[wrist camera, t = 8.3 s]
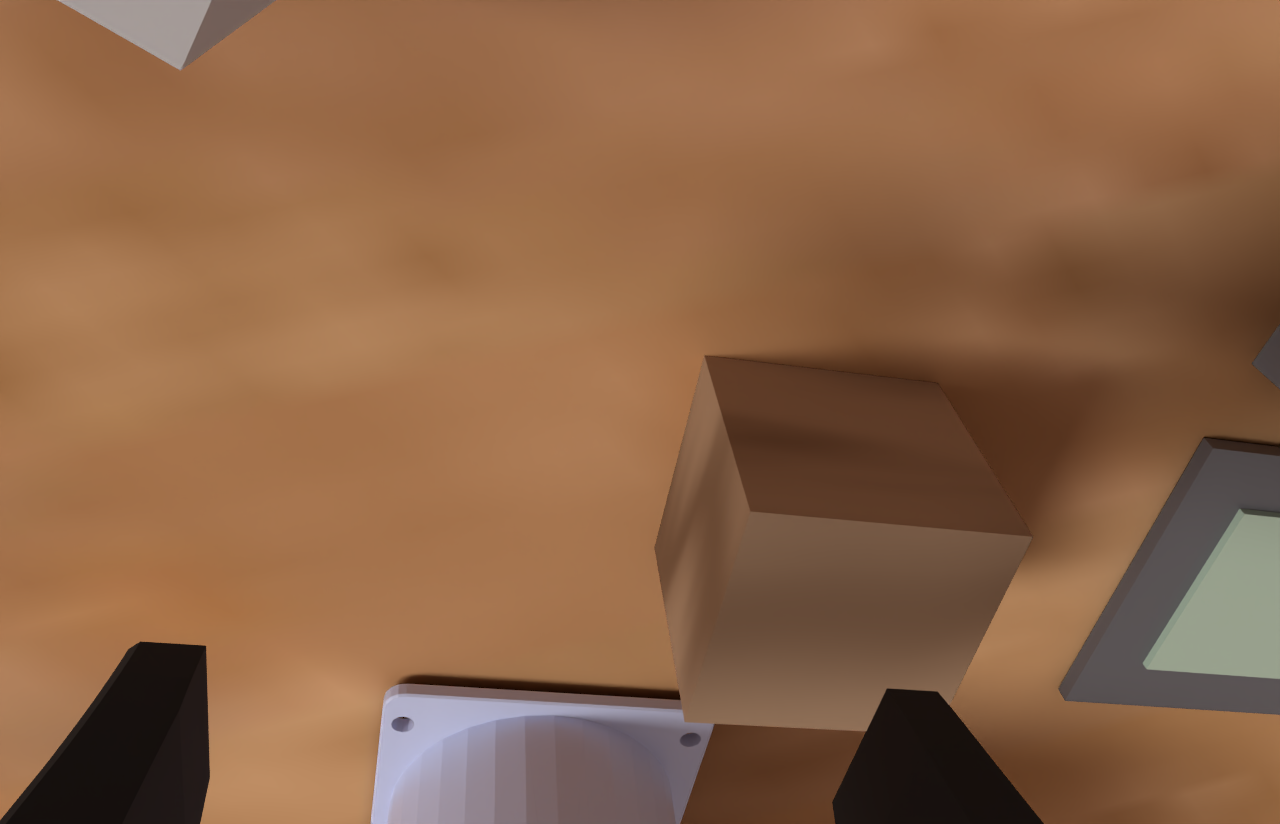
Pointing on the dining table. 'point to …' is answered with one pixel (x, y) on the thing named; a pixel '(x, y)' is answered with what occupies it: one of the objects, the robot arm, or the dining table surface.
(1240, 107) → the dining table surface
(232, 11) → the grey rock
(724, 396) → the walnut block
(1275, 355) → the slate base
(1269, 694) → the grey square plate
